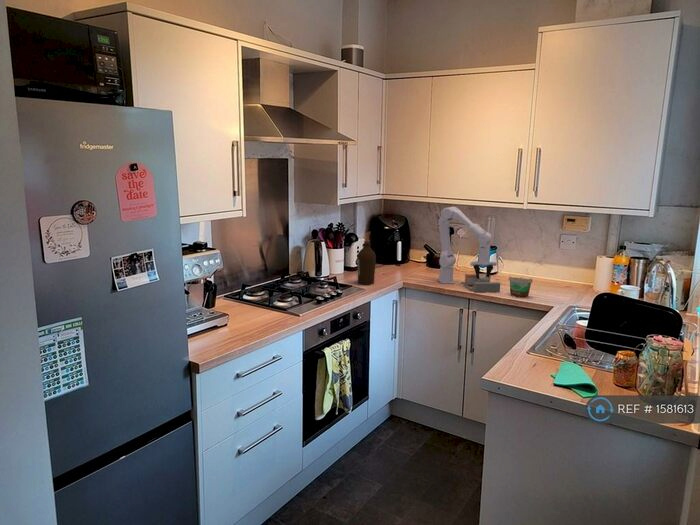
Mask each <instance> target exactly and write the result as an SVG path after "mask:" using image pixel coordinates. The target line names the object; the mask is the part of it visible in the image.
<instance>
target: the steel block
mask: <svg viewBox="0 0 700 525" xmlns="http://www.w3.org/2000/svg"><path fill="white" fill-rule="evenodd" d="M476 282H488V277H487V276H486V275H479V279H477V278H476Z"/></svg>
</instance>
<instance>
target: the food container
mask: <svg viewBox="0 0 700 525" xmlns="http://www.w3.org/2000/svg"><path fill="white" fill-rule="evenodd" d="M508 281H509V295H510V294H511V295H510V296H512V295H513V296H512V297H514V296H516V297H515V298H528V297H529V295H530V290H531V285H532V283H533V278H523V277H512V276H509V278H508ZM527 296H528V297H527Z"/></svg>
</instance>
